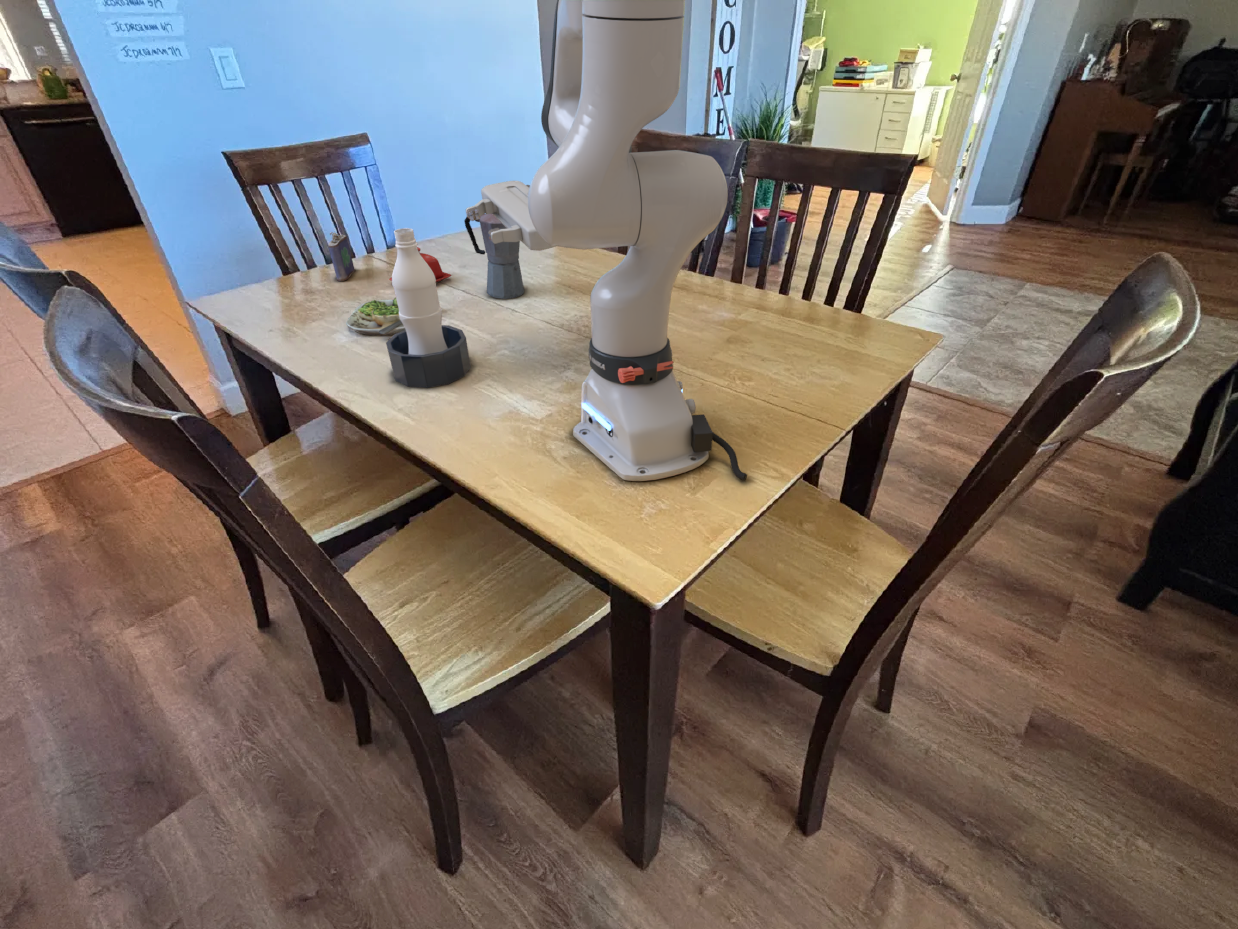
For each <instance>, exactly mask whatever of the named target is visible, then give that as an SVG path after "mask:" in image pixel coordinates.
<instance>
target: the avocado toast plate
mask: <svg viewBox="0 0 1238 929" xmlns="http://www.w3.org/2000/svg"><path fill="white" fill-rule="evenodd" d="M345 325H346V327H347V328H348V329H350V330H352V331H354V332H356V333H359V334H361V335H365V336H383V335H385V336H390V335H395V334H396V333H399V332H402V331H404V330H405V327H404V325H403V323H402V322H401V320H400V317H399V308H398V304H397V299H396V297H394V298H393V299H373V300H371V301H367V302H364V303H361V304H359V305H358V306H356V307H355V309H354V310H353V312H352V313H351V314H350V316H349V317H348V319H347V320H346V322H345Z"/></svg>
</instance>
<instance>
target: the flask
mask: <svg viewBox="0 0 1238 929" xmlns="http://www.w3.org/2000/svg"><path fill="white" fill-rule="evenodd" d="M329 235H331V240H330V241H329V243H328V244H327V247H328V252H329V255H330V258H331V261H332V262H331V263H332V265H333V269H334V274H335V277H336V281H337V282H345V281H347V280H349V278H350V277H351V275H353V274H354V272H356V270H355V265H354V261H353V257H352V253H351V249H350V244H349V240H348V236H347V235H345V234H339V233H337V232H335V231H334V232H333V231H331V232H329Z"/></svg>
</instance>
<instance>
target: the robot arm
mask: <svg viewBox="0 0 1238 929" xmlns="http://www.w3.org/2000/svg"><path fill="white" fill-rule="evenodd" d="M685 10H686V0H556V4H555V10H554V18H553V28H552V30H553V31H552V43H551V45H552V46H551V58H550V59H551V60H550V73H549V74H550V75H549V83H548V87H547V92H546V94H545V98H544V101H543V105H542V108H541V113H540V114H541V115H540V117H541V118H540V120H541V121H540V122H541V127H542V130H543V132H544V134H545V136H546V137H547V138H548V139H549V140H550V141H551V142H552V143H553V144H554V145H555V146H556V147H558V148H557V150H555V152H554V153H553V154H552V155H551V156H550V157H549V158H548V159H547V160H546V161H545V162H543V163H542V164H541V165H540V166H539V168H538V169H537V170H536V172H535V174H534V175H533V178H532V179H531V182H530V184H526V183H524V182H523V181H521V180H507V181H502V182H496V183H491V184H487V185H485V186H483V187H482V188H481V189H480V193H481V200H479V201H478V202H477V203H475V204H474V205H472V206H469V207H466V209H465V214H466V217H468V218H469V219H470V220H471V221H470V222H474V221H475V220H478V219H480V216H481V215H483V214H492V215H493V216H494V217H496V218H497V219H498V220H499V221H500V222H501V223H502V224H503V225H504V226H505V227H506V228H507V229H499V228H495V229H491V230H489V232H488V234H489V239H490V240H491V241H492V242H493V243H494V244H496V243H500V242H503V241H504V242H518V241H520V243H522V244H523V245H525V247H527V248H528V249H529V250H530V251H536V252H540V251H541V252H542V251H546V250H549V249H552V248H553V249H554V248H556V247H557V248H559V247H560V248H564V249H574V250H575V249H576V250H583V251H584V250H585V251H586V250H597V249H607V248H618V247H629V248H628V252H627V253H626V255H625V257H624V258H623V259H622V261H620V262H619V263H618V264H617V265H616V266H614V267H613V268H612V269H610V270H608V271H607V272H605V273H604V274H602V275H601V276H600V277H599V279H598V280H597V281H596V282H595V284H594V285H593V288H592V290H591V292H590V296H589V300H590V301H589V302H590V304H589V305H590V325H591V338H590V339H589V341H588V359H589V366H590V370H589V372H588V374H587V375H586V376H587V377H586V378H585V379H584V381H583V382H582V384H581V400H580V401H581V403H580V406H581V407H580V416H581V417H580V421H579V422H578V423H576V425H575V426H574V427H573V430H572V431H573V432H572V436H573V437H574V438H575V439H576V440H577V441H578V442H579V443H581V444H582V445H583V446H584V447H585V448H586V449H588V451H590V452H591V453H592V454H593V455H594V456H595V457H596V458H597V459H599V461H601V462H602V463H604V464H605V466H606V467H608V468H609V469H610V470H611V471H612V472H613V473H615V474H616V475H617V476H618V477H619V478H620V479H622V480H624V481H632V482H645V481H647V482H649V481H655V480H661V479H665V478H670V477H674V476H677V475H681V474H684V473H686V472H687V473H688V472H689V471H692V470H694V469H697V468H698V467H700V466H701V465H703V464H704V463H706V462H707V461H708V459H709V458H710V457H709V452H712V449H713V442H714V443H715V444H717V445H718V446H720V447H721V448H722V449H723V450H724V451H725V452H726V454H727V455H728V457H729V462H730V463H729V464H730V468H731V471H732V473H733V475H734V476H735V477H736V478H737V479H740V480H742V481H746V479H747V478H748V474H747V473H745V472H742V470H741V469H740V466H739V463H738V458H737V454H736V451H735V450H734V448H733V447H732V446H731V444H729V443H728V442H727V441H726V440H725V439H723V438H722V437H721V436H719V435H718V434H717V433H715V432H714V431H713V430H712V428H711V426H710V424H709V422H708V420H707V417H706V415H705V414H703V413H702V414H696V412H697V408H696V407H697V406H696V402H695V399H693V398H687V399H685V398H686V397H685V396H684V392H683V390H684V388H683V386H684V385H683V381H682V380H678V379H677V377H676V374H675V373H674V360H673V350H672V347H671V340H670V338H669V337H668V336H669V335H668V334H669V318H670V307H671V300H672V295H673V294H672V293H673V289H674V286H675V283H676V280H677V277H678V275H679V273H680V271H681V268H682V267H683V265H684V264H685V262H686V261H687V259H688V257H689V256H690V254H691V253H692V252H693V250H694V249H695V248H696V247H697V246H698V245H699V244H700V243H701V241H702V240H704V239H705V238H706V237H707V236H708V235H710V234H711V233H712V232H713V231H715V230H716V228H717V227H718V225H719V224H720V222H721V221H722V219H723V217H724V215H725V211H726V208H727V204H728V196H729V195H728V193H729V191H728V183H727V179H726V176H725V173H724V171H723V169H722V167H721V166H720V164H719V163H718V161H717V160H716V159H715V158H714V157H713V156H711V155H709V154H708V155H707V154H702V153H697V152H692V151H686V150H679V149H672V150H670V149H669V150H655V151H639V152H632V149H633V148H632V147H633V146H632V144H633V143H634V140H635V138H636V137H637V136H638V134H639V133H640V132H641V130H642V129H643V128H645V127H646V126H647V125H649V124H650V123H652V122H654V121H655V120H657V119H659V118H660V117H661V116H662V115H664V114H665V113H666V112H667V111H668V110H670V108H671V106H672V105H673V104H674V102H675V100H676V98H677V96H678V94H679V91H680V88H681V77H682V74H681V73H682V60H683V58H682V57H683V42H684V28H685V12H686V11H685Z"/></svg>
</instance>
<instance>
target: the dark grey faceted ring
mask: <svg viewBox="0 0 1238 929" xmlns="http://www.w3.org/2000/svg"><path fill="white" fill-rule="evenodd" d="M442 333H443V337H444V340H445V343H446V346H447V348H448V349H446V350H444V351H441V352H436V353H431V354H425V355H412V354H408V353H409V343H408V336H407V333H406V330H404V331H402V332H399V333H396V334H392V336H391V337H390V338H389V339H388V340H387V341H386V342H385V344H386V348H387V354H388V356H389V361H390V363H391V370H392V373H393V378H394V381H395V382H396V383H398V384H401V385H403V386H405V387H407V388H422V389H423V388H424V389H428V388H429V389H430V388H434V387H440V386H444V385H449V384H452V383H454V382H455V381H457V380H460V379H462V378H464V377H466V375H467V374H468V372H469V370H470V369H471V368H472V366H471V359H470V354H469V348H468V341H467V336H466V335H465V333H464V331H463V330H462V329H461V328H457V327H455V326H452V325H447V324H446V325H445V324H442Z"/></svg>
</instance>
